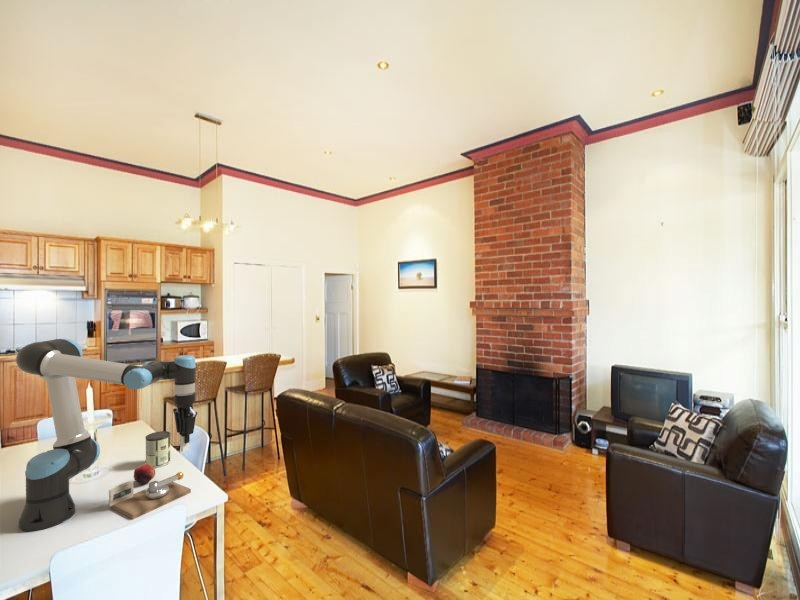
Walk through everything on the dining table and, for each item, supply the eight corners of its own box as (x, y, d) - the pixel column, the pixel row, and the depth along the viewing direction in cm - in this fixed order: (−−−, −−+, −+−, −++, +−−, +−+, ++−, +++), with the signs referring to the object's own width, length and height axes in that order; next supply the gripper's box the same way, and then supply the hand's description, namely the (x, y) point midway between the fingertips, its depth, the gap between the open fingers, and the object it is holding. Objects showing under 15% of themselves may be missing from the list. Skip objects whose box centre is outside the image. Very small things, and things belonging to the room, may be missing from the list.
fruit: (156, 477, 172) (156, 460, 171) (152, 485, 164) (152, 467, 164) (136, 480, 169) (136, 462, 169) (131, 488, 162) (131, 470, 162)
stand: (130, 520, 139) (130, 500, 139) (107, 508, 146) (107, 489, 146) (190, 492, 159) (190, 474, 159) (168, 483, 167) (168, 466, 167)
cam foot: (152, 501, 149) (152, 488, 149) (141, 496, 152) (141, 483, 152) (188, 485, 161) (188, 473, 161) (177, 480, 165) (177, 468, 165)
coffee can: (155, 458, 192) (156, 430, 192) (175, 459, 191) (175, 431, 191) (140, 467, 181) (140, 438, 181) (160, 468, 180) (160, 439, 180)
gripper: (203, 393, 158) (203, 450, 158) (184, 389, 164) (184, 444, 164) (185, 397, 151) (185, 457, 151) (166, 393, 157) (166, 450, 157)
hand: (185, 450), depth 158 cm, fingers closed
